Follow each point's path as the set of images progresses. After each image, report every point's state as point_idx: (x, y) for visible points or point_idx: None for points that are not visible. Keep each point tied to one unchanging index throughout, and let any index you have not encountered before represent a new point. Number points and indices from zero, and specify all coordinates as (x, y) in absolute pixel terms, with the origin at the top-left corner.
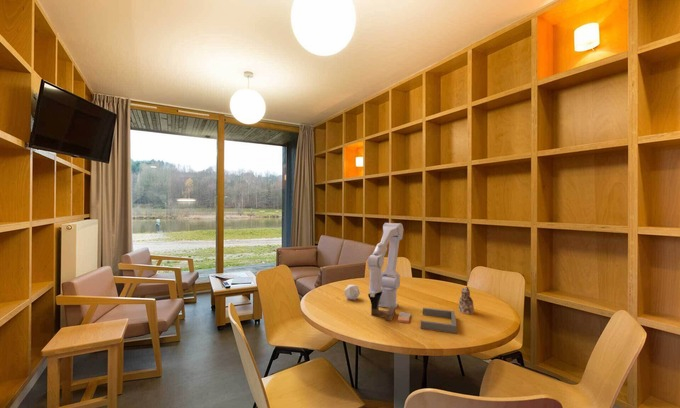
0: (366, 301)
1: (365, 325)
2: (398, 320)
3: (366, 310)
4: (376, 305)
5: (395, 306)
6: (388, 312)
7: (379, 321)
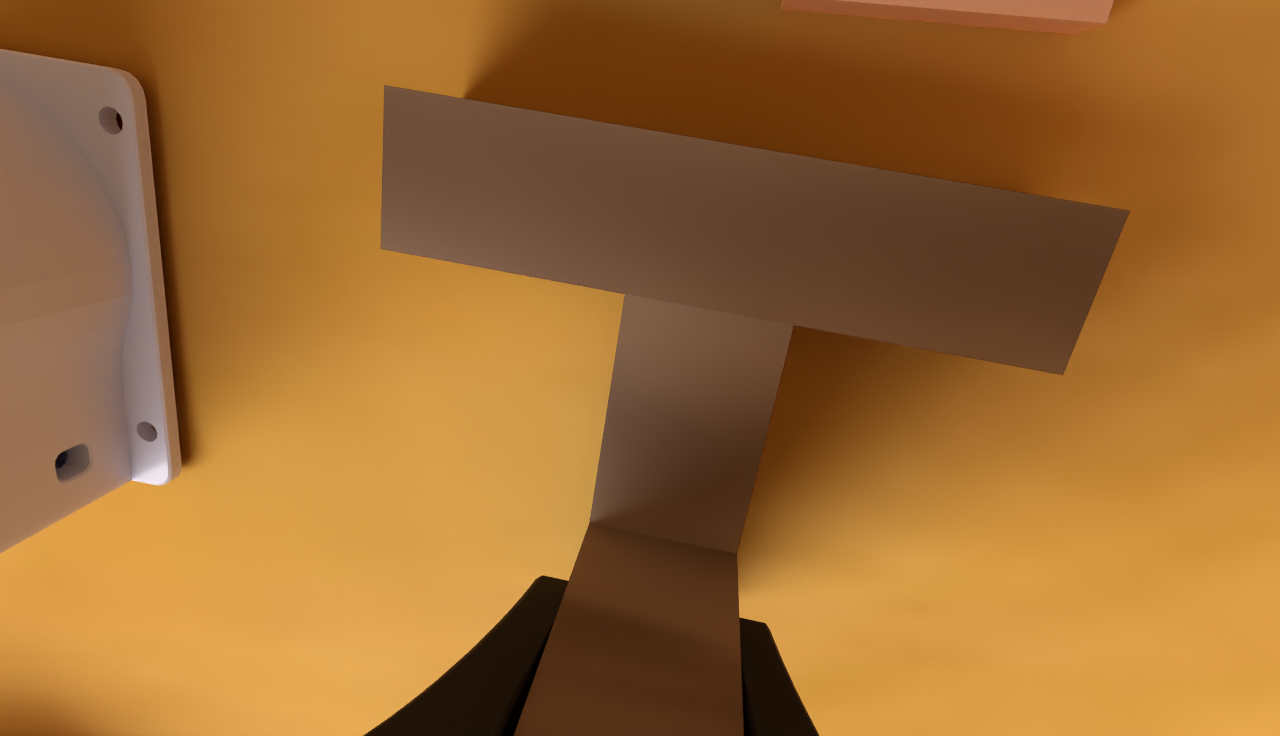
0: (12, 656)
1: (1255, 713)
2: (1098, 5)
3: None
4: (792, 712)
5: (50, 85)
6: (922, 311)
7: (1041, 468)
